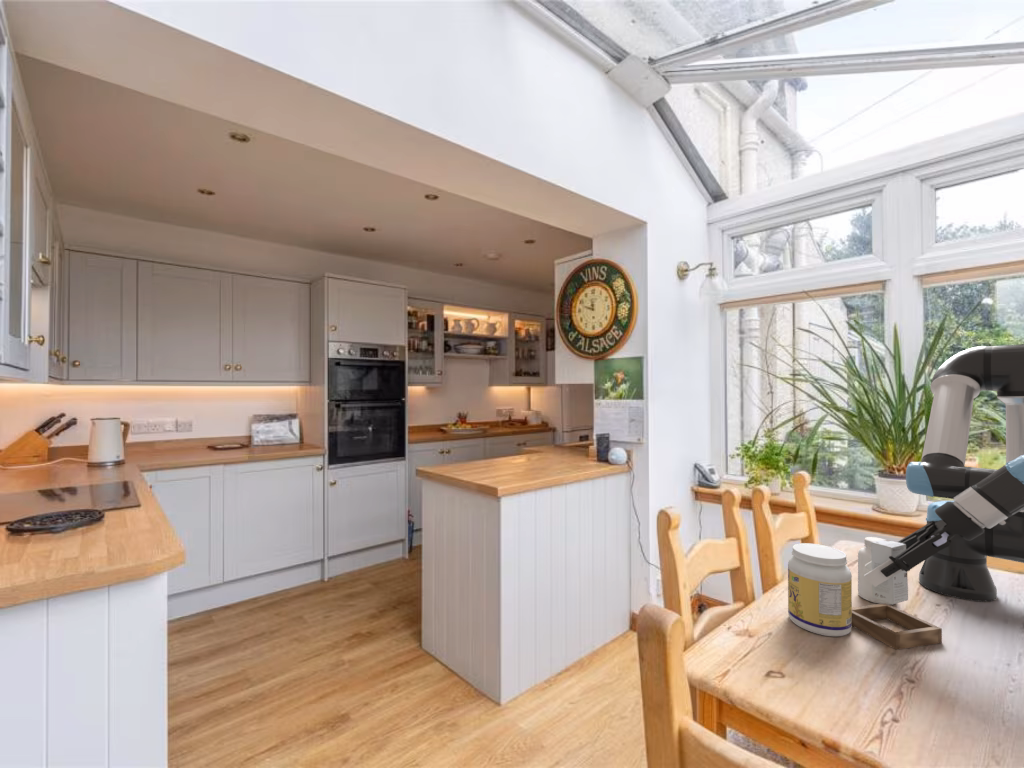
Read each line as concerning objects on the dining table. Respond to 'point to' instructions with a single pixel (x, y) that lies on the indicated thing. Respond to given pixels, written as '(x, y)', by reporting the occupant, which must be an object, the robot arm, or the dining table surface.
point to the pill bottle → (866, 571)
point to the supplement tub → (820, 589)
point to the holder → (918, 628)
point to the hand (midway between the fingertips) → (870, 575)
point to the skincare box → (896, 585)
